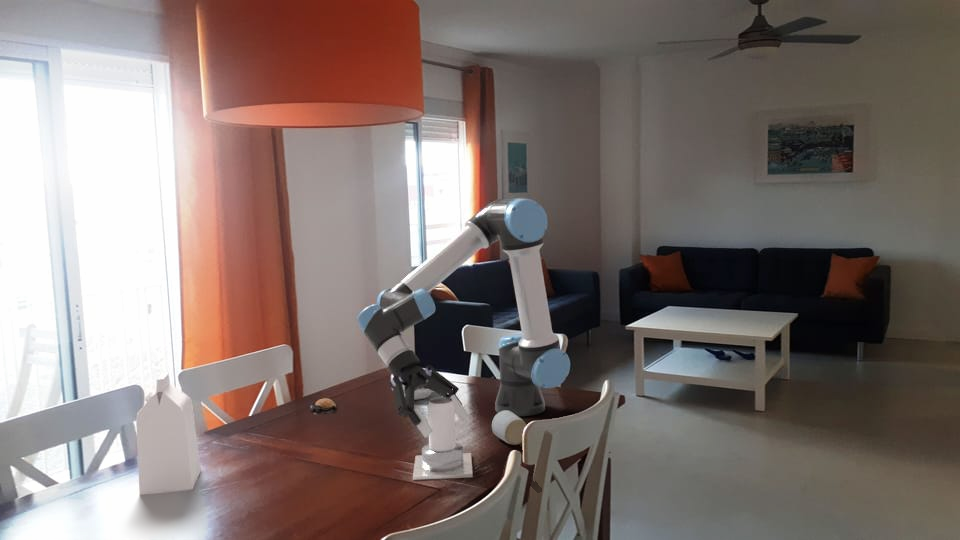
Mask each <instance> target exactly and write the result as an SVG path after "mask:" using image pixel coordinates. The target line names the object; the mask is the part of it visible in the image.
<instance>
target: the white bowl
mask: <svg viewBox="0 0 960 540" xmlns="http://www.w3.org/2000/svg"><path fill="white" fill-rule="evenodd" d="M422 368H423V369H425V368H426V367H425V368H424V367H422ZM393 377H394V376H393V375H392V374H391V375H390V381H391V380H392V378H393ZM427 381H428V380H427ZM402 386H403V391H404V390H405V386H404V385H402ZM391 390H392V391H393V389H392V388H391ZM432 392H433V391H431V390H430V389H424V388H421V389H417V390H416V391H414V401H416V400H424V399H426V398H428V397H430V396H431V394H432ZM404 395H405V393H404Z"/></svg>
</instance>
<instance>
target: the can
mask: <svg viewBox="0 0 960 540" xmlns="http://www.w3.org/2000/svg"><path fill="white" fill-rule="evenodd" d="M428 402H429V403H428V405H427V423H428V424H429V425H430V427H431V428H432V430H433V431H432V432H431V433H430V434H429V435H428V444H429V447H430V449H431V450H432V451H434V452H448V451H451V450H453V449H454V448H455V447H456V443H457V440H456V417H455V416H456V414H455V412H454V404H453V402H452V399H451V398H449V397H443V396H436V397H432V398H430V399H429V400H428Z"/></svg>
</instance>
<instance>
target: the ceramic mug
mask: <svg viewBox="0 0 960 540" xmlns="http://www.w3.org/2000/svg"><path fill="white" fill-rule="evenodd" d="M526 425H527V424H526V422H525V420H523V419H522V418H521V417H520V416H517V415H515V414H514V413H513V412H511V411H508V410H504V411H501V412H499V413H498V412H496V414H495V416H494V417H493V419H492V422H491V430H492V433H493V434H494V435H495V437H498V438H499V439H500V440H501V441H504V442H505V443H507V444H509V445H511V446H512V445H513V446H518V445H521V444H522V443H523V442H522V433H523V429H524V427H525V426H526Z"/></svg>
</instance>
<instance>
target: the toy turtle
mask: <svg viewBox="0 0 960 540" xmlns="http://www.w3.org/2000/svg"><path fill="white" fill-rule="evenodd" d="M310 411H311V413H313V414H314V415H317V416H318V415H326V414H327V415H328V414H333V413H338V412H339V410H338V405H337V403H336V402H335V401H333V400H332V399H330V398H327V397H325V398H321V399H318V400H317V401H316V402H315V401H314V402H312V403H311V405H310Z"/></svg>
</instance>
